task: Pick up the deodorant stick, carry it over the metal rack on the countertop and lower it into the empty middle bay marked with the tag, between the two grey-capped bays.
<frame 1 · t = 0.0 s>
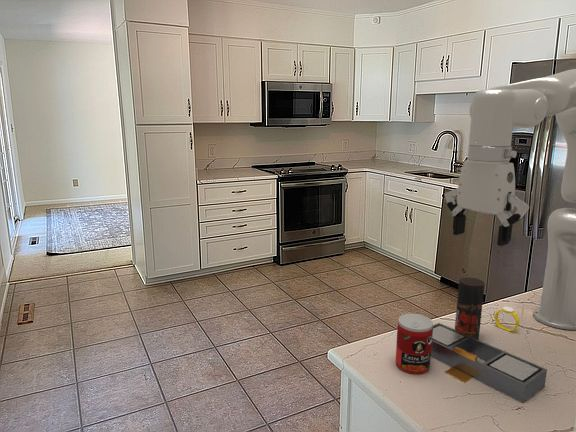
hand: (479, 239, 90), 31 cm above the counter, tool pointing down, fingers open, 9 cm apart
watch: (505, 329, 118), on the counter
canned food: (412, 365, 101), on the counter
rack: (474, 365, 101), on the counter
deodorant: (466, 336, 114), on the counter
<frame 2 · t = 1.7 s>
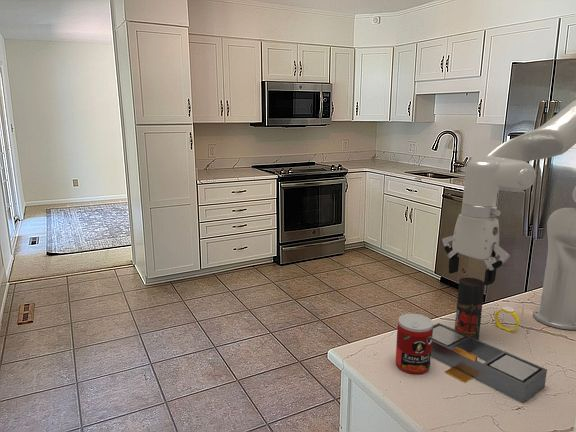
hand: (470, 278, 110), 16 cm above the counter, tool pointing down, fingers open, 9 cm apart
nothing on the counter moved.
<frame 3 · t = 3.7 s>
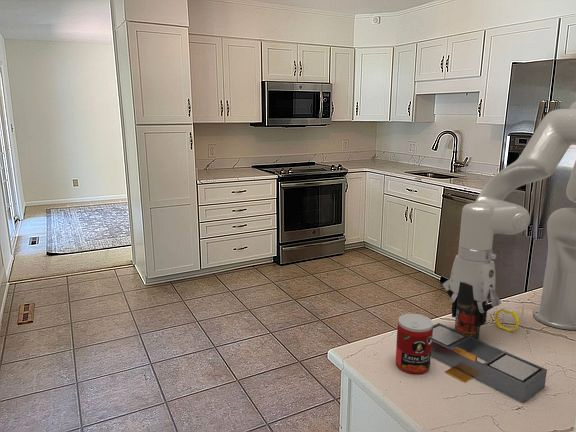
hand: (467, 319, 113), 5 cm above the counter, tool pointing down, fingers closed on deodorant, 5 cm apart
deodorant: (466, 336, 114), on the counter, touching gripper
everything else where it was.
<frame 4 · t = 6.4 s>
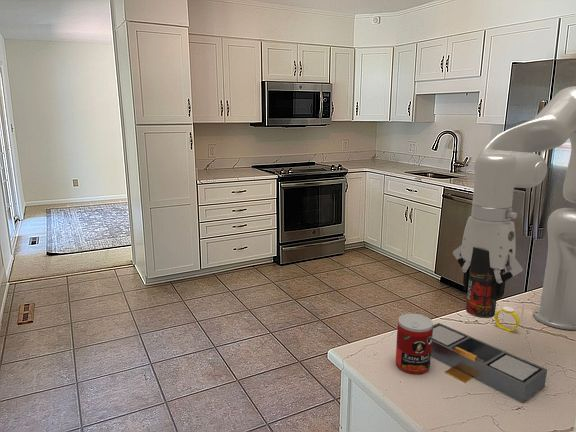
hand: (482, 292, 97), 18 cm above the counter, tool pointing down, fingers closed on deodorant, 5 cm apart
deodorant: (480, 312, 98), point 13 cm above the counter, touching gripper
everything else where it was.
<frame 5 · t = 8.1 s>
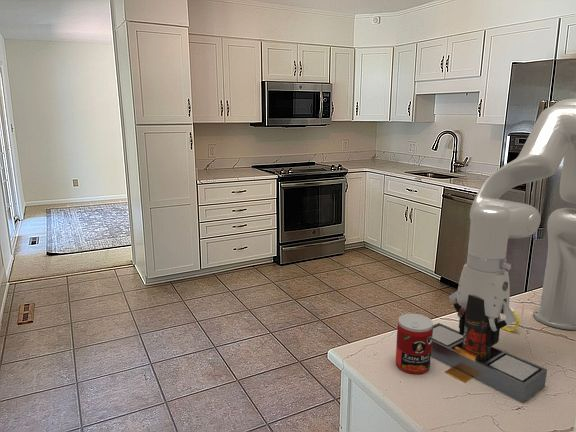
hand: (477, 337, 99), 7 cm above the counter, tool pointing down, fingers closed on deodorant, 5 cm apart
deodorant: (475, 357, 100), point 2 cm above the counter, touching gripper
everything else where it was.
when the fingers open (6 cm above the counter, at t = 9.3 s): deodorant drops 1 cm, resting in rack.
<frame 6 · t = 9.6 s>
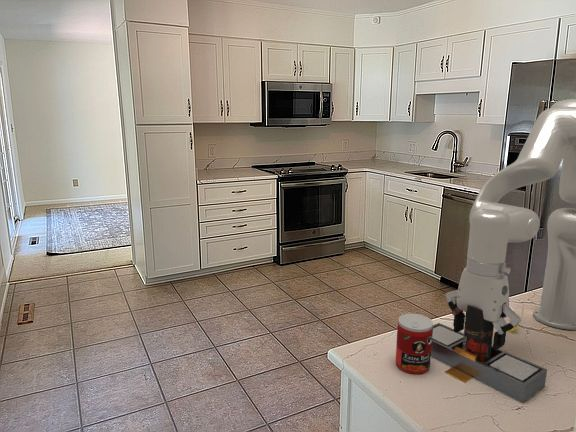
hand: (477, 338, 99), 7 cm above the counter, tool pointing down, fingers open, 9 cm apart
deodorant: (474, 366, 101), resting in rack
everything else where it was.
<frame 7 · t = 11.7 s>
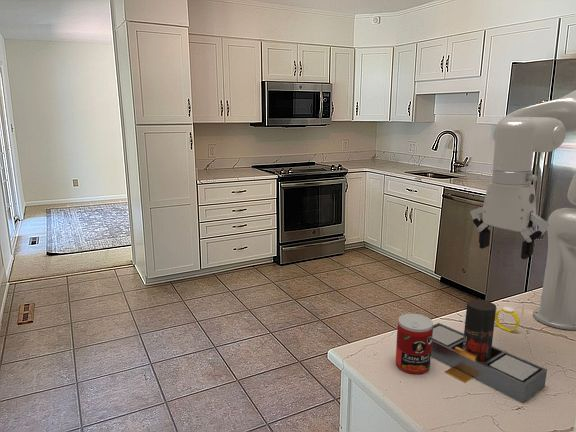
hand: (504, 252, 100), 25 cm above the counter, tool pointing down, fingers open, 9 cm apart
nothing on the counter moved.
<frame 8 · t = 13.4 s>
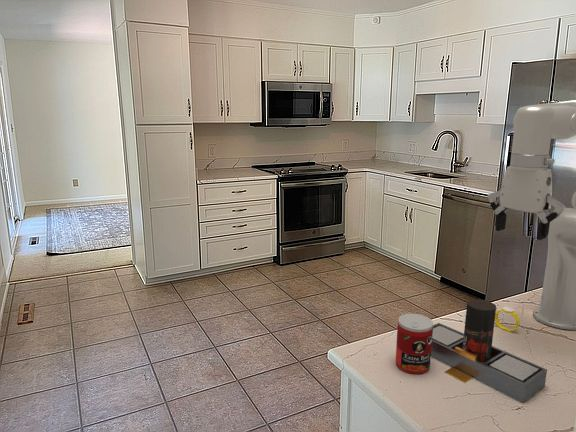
hand: (520, 234, 104), 28 cm above the counter, tool pointing down, fingers open, 9 cm apart
nothing on the counter moved.
at the end: deodorant 0.2 cm off-centre on the rack, point 0.0 cm above the rack's base; deodorant tilted 0°; the gripper is holding nothing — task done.
